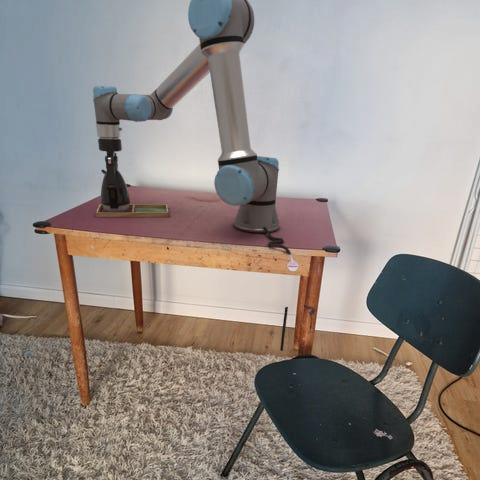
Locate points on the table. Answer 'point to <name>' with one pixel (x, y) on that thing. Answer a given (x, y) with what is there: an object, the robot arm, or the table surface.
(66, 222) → the table surface
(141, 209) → the divided wooden tray
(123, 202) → the pump dispenser
